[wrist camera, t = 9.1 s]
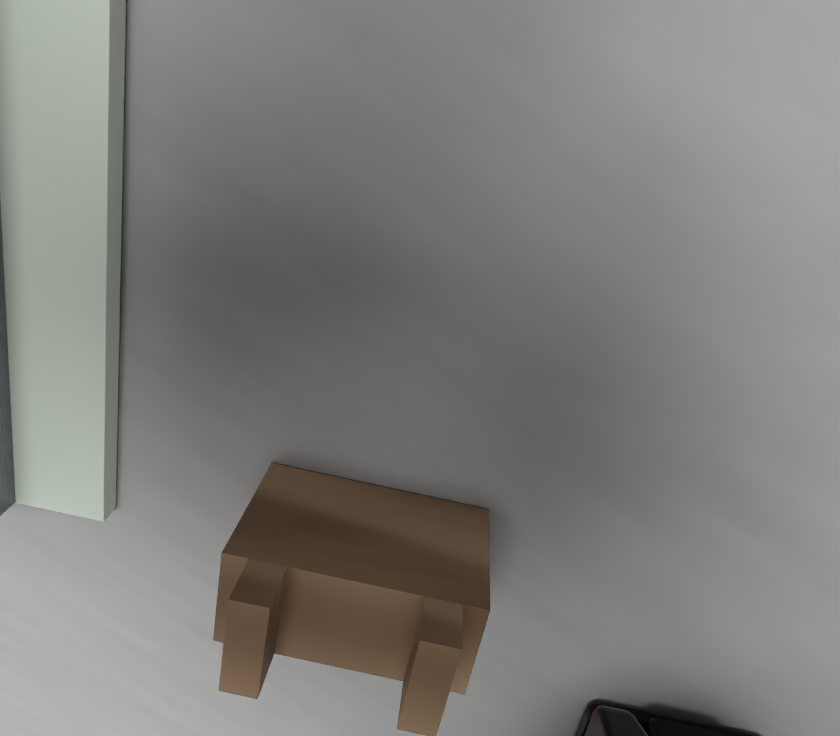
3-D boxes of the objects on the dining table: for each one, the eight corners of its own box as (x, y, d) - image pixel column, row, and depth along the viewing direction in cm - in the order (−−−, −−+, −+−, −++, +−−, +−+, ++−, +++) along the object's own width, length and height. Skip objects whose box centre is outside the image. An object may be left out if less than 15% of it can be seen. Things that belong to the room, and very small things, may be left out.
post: (467, 583, 23) (463, 743, 17) (262, 539, 23) (191, 685, 17) (488, 509, 21) (490, 655, 16) (271, 462, 22) (199, 593, 16)
